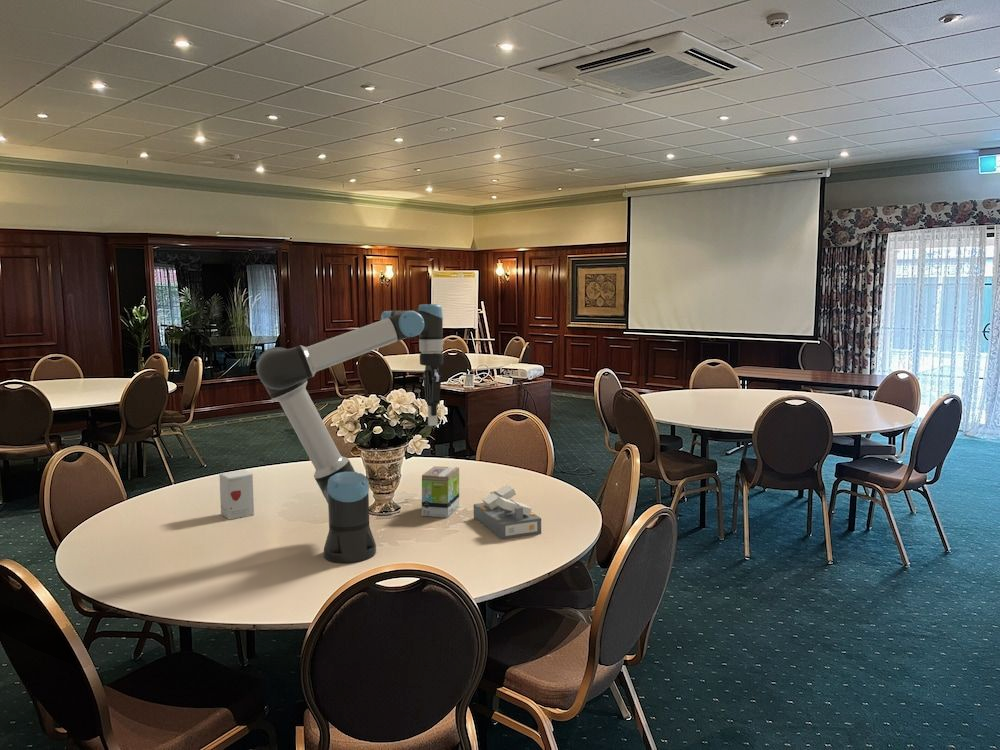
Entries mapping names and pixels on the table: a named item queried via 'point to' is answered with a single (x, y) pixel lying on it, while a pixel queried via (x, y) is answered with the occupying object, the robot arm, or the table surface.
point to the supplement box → (236, 494)
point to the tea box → (440, 491)
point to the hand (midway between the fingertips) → (432, 425)
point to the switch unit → (507, 521)
